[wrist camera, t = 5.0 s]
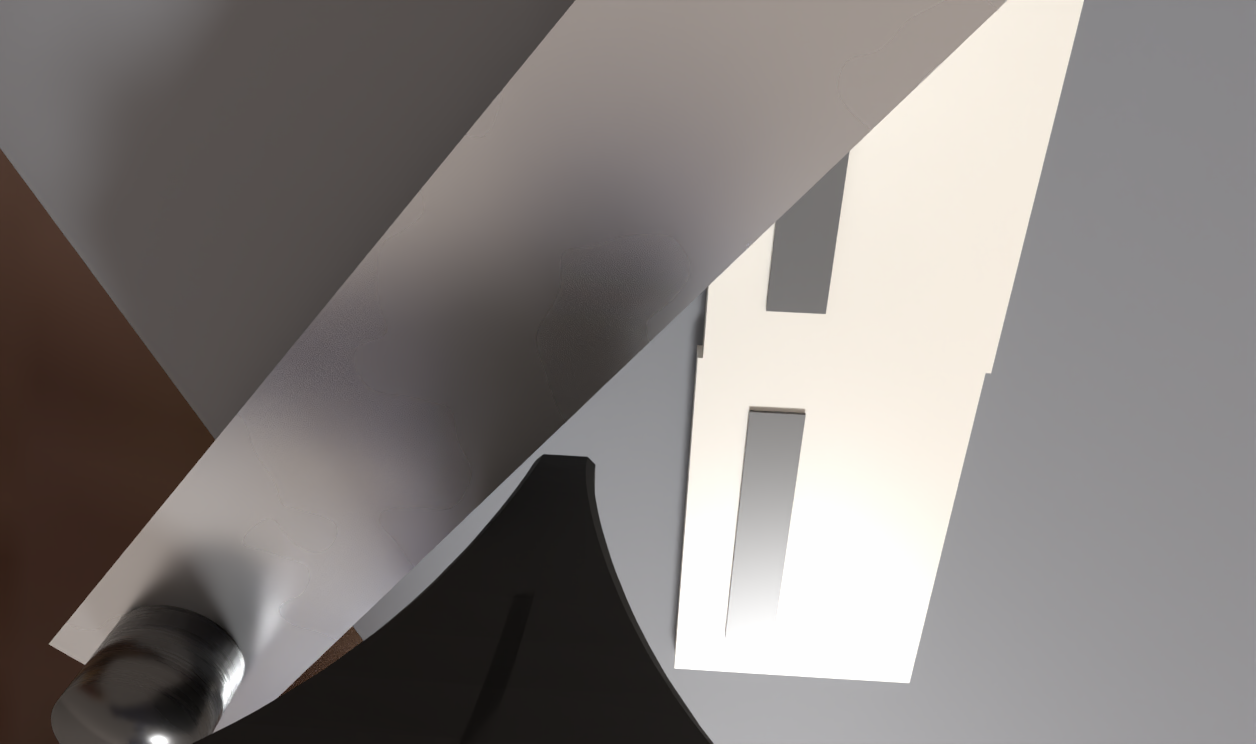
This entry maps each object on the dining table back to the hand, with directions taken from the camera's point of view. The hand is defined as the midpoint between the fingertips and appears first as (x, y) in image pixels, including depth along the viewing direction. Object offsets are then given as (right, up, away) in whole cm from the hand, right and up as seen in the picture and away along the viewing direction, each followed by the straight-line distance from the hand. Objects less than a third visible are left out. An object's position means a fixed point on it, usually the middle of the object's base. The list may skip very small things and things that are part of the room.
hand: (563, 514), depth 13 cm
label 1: (+4, +5, -1) cm, 6 cm away
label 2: (+4, 0, +2) cm, 4 cm away
